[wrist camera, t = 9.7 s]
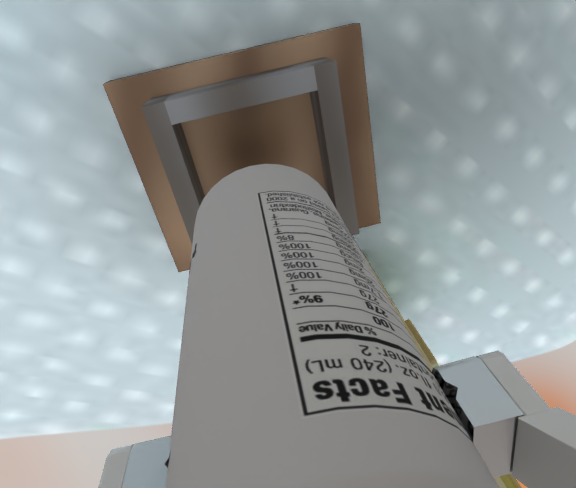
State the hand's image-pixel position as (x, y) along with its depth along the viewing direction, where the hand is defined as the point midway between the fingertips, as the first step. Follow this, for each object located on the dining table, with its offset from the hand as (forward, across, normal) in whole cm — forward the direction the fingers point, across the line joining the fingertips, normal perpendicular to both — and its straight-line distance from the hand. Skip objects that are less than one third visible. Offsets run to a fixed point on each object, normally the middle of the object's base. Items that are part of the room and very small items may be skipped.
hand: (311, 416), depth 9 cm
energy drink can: (+10, 0, 0) cm, 11 cm away
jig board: (+21, 0, 0) cm, 21 cm away
